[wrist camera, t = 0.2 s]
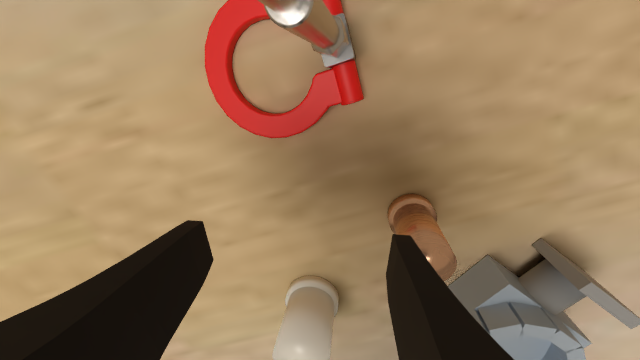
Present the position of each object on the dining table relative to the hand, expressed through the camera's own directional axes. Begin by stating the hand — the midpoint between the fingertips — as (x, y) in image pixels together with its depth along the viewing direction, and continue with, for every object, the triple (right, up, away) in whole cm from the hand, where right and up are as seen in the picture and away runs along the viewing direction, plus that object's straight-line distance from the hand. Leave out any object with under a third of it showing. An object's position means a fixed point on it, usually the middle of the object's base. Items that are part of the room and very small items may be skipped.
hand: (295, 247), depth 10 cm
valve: (+16, -9, +13) cm, 23 cm away
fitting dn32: (+8, 0, +10) cm, 13 cm away
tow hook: (-2, +10, +8) cm, 13 cm away
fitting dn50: (0, -8, +15) cm, 17 cm away
